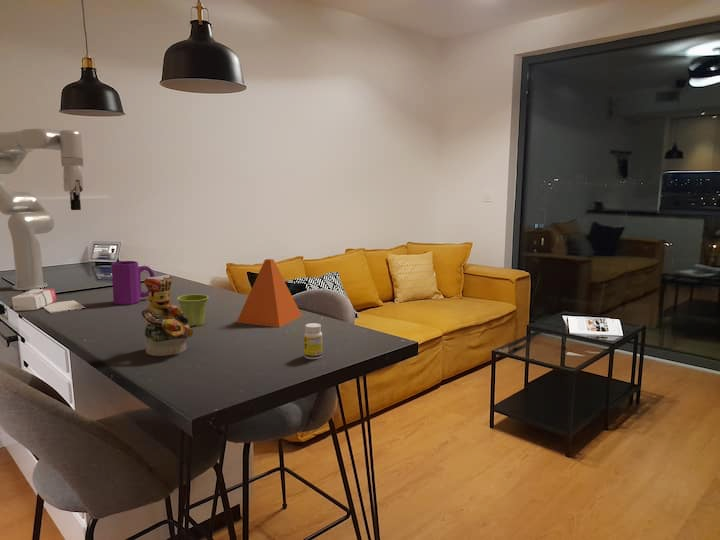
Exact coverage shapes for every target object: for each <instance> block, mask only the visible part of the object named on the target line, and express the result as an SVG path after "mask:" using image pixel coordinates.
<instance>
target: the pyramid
mask: <svg viewBox="0 0 720 540" xmlns="http://www.w3.org/2000/svg"><path fill="white" fill-rule="evenodd" d="M302 316H303V315H302V313H301V310H300V308H299V307H298V305H297V303H296V301H295V299H294V297H293V295H292V293H291V291H290V289H289V288H288V286H287V284H286V281H285V280H284V277H283V275H282V274H281V272H280V270H279V268H278V266H277V264H276V262H275V260H274V259H273V258H266V259H264V261H263V263H262V264H261V268H260V270H259V271H258V273H257V277H256V278H255V281H254V282H253V284H252V287H251V289H250V291H249V294H248V296H247V299H246V301H245V302H244V304H243V307H242V309H241V311H240V314H239V316H238V317H237V321H236V323H239V324H246V325H247V324H248V325H257V326H266V327H272V328H273V327H274V328H281V327H283V326H285V325H288V324H289V323H292V322H293V321H296V320H297V319H299V318H301V317H302Z"/></svg>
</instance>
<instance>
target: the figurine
mask: <svg viewBox="0 0 720 540" xmlns="http://www.w3.org/2000/svg"><path fill="white" fill-rule="evenodd" d="M172 281H173V278H172V276H171V275H170V274H163V275H158V276H155V277H150V276H148V277H145V279H144V280H143V283H144V285H145V287H146V288H147V291H148V293H149V296H147V301H148V302H150V303H149V305H148V306H147V307H146V308H145V309H144V310H142V311H141V313H140V314H141V316H142V318H144V319H145V320H146V322H147V323H146V325H145V328H144V336H145V338H146V346H145V353H146V354H147V355H149V356H150V355H151V356H157V357H158V356H159V357H160V356H172V355H177V354H180V353H183V352H184V351H186V349H187V345H186V344H187V343H186V341H187V339H189V338H190V337H192V336H193V334H194V331H193V329H192V328H191V326H190V324H189V323H188V321H189V319H188V318H187V317H186V316H185V315H184V314H183V313H182V311H181V307H178V305H172V301H171V297H170V295H171V292H170V291H171V287H172Z"/></svg>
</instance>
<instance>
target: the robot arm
mask: <svg viewBox="0 0 720 540" xmlns="http://www.w3.org/2000/svg"><path fill="white" fill-rule="evenodd" d="M36 149H37V150H39V149H40V150H54V151H60V159H61V160H60V161H61V167H63V171H62V172H63V173H62V174H63V176H62V177H63V190H64V192H66V193H69V200H70V201H69V202H70V210H71V211H81V209H82V207H81V205H82V204H81V193H82V192H83V191H84V179H83V172H82V171H83V169H82V168H84V157H83V156H84V155H83V141H82V133H81V132H80V131H79V130H75V129H73V130H71V129H63V130H57V129H56V130H55V129H46V128H27V129H26V128H25V129H21V130H17V131H15V130H14V131H0V175H8V174H9V175H10V174H12V173H14V172H15V171H17V170H18V168H19V166H20V165H21V164H22V163H23V161H24V160H25V158H26V157H27V155H28V154H29V153H31V152H33V150H36ZM0 213H1V214H2V215H6V216H9V218H8V220H7V226H8V231H9V233H10V236H11V237H10V238H11V243H12V250H13V259H14V267H15V268H14V270H15V271H14V272H15V280H16V284H14V285H12V290H15V291H30V290H32V289H40V288H41V289H45V288H47V287H48V286H49V285H48V283H47V282H44V276H43V275H44V274H43V265H42V252H41V251H42V250H41V245H40V242H39V239H38V238H37V237H36V236H35V235H40V234H41V235H42V234H47V233H50V232H52V231H53V229H54V227H55V221H54V218H53V216H52V214H51V213H50V211H49V210H48V209H47V208H46V207H45V206H44V204H43V203H42V202H41V201H40V200H39V198H38V197H37V196H36V195H35V194H33V193H30V192H27V191H26V192H25V191H24V192H23V191H19V192H18V191H14V190H12V188H11V187H10V186H9V185H8V184H7V182H6V181H5V180H4V179H2V178H0ZM44 287H45V288H44Z"/></svg>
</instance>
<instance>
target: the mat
mask: <svg viewBox="0 0 720 540" xmlns="http://www.w3.org/2000/svg"><path fill="white" fill-rule="evenodd" d="M42 308H43V310H46V311H47V312H48V313H49V314H53V313H61V312H62V311H63V312H69V311H68V310H70V311H76V310H75V309H77V310H82V308H85V309H86V307H85V306H84V305H82V304H81V303H79V302H78V301H76V300H73V299H72V300H66V301H65V300H64V301H58V302H56V301H55V302H52V303H50V304H48V305H46V306H43V307H42Z"/></svg>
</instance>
